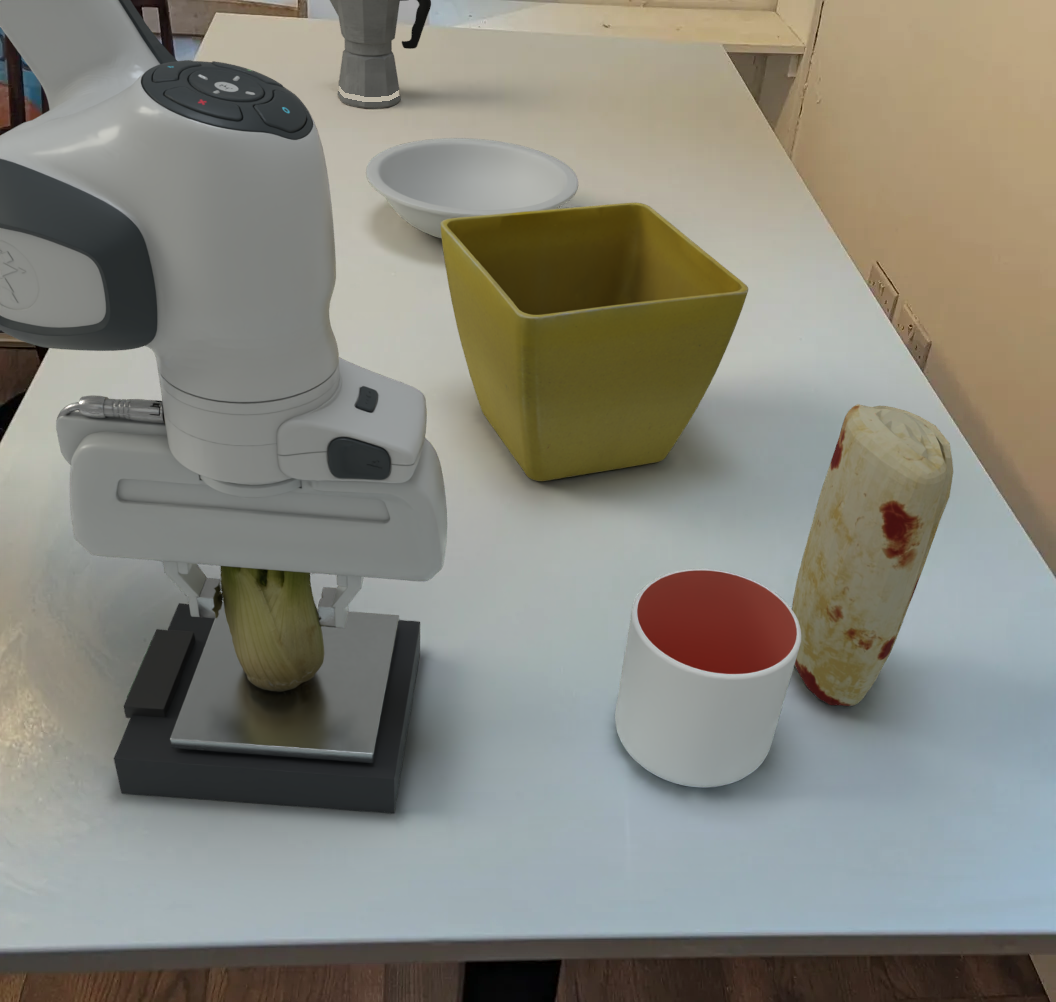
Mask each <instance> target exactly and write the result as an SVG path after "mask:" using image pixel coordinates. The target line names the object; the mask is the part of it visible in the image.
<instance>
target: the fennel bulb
mask: <svg viewBox="0 0 1056 1002" xmlns="http://www.w3.org/2000/svg"><path fill="white" fill-rule="evenodd" d="M220 579H221V593H222V597H223V602H224V609H225V614H226V620H227V622H228V625H229V629H230V633H231V635H232V642H233V645H234V649H235V653H236V655H237V658H238V660H239V662H240V664H241V666H242V668H243V671H244V672H245V673H246V675H247V678H248V680H249V681H250V682H251V683H252V684H254V685H255V686H257V687H258V688H261V689H264V690H269V691H278V692H282V691H286V690H290V689H293V688H296V687H297V686H298V685H300V684H301V683H303V682H306V681H308V680H310V679H311V678H312V677H314V675H315V674H316V672H317V671H318V670H319V669H320V667H321V666H322V664H323V660H324V642H323V635H322V629H321V626H320V625H319V615H318V611H317V609H318V607H317V604H316V602H315V599H314V595H313V589H312V583H311V573H306V572H293V571H281V570H268V569H255V568H242V567H229V566H220Z"/></svg>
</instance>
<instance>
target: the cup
mask: <svg viewBox="0 0 1056 1002" xmlns="http://www.w3.org/2000/svg"><path fill="white" fill-rule="evenodd" d="M630 612H631V613H630V619H629V626H628V629H627V630H628V631H627V637H626V644H625V648H624V649H625V650H624V655H623V662H622V666H621V667H622V668H621V674H620V678H619V679H620V681H619V686H618V692H617V698H616V705H615V710H614V711H615V712H614V722H615V727H616V728H615V729H616V733H617V735H618V738H619V740H620V742H621V745H622V746H623V748H624V749H625V751H626V752H627V753H628V754H629V756H630V757H631V758H632V759H633V760H634V761H635V762H636V763H637V764H638V765H639V766H640V767H642V768H643V769H645V770H646V771H648V772H649V773H651V774H652V775H654V776H656V777H658V778H660V779H662V780H664V781H667V782H670V783H673V784H676V785H680V786H686V787H692V788H716V787H722V786H728V785H731V784H734V783H737V782H739V781H741V780H743V779H745V778H747V777H748V776H750V775H751V774H752V773H754V772H755V771H756V770H757V769H758V768H759V767H760V766H761V765H762V764H763V762H764V761H765V759H766V758H767V756H768V754H769V753H770V750H771V748H772V744H773V741H774V737H775V733H776V731H777V728H778V727H777V726H778V723H779V720H780V716H781V713H782V709H783V706H784V702H785V700H786V695H787V692H788V689H789V684H790V681H791V678H792V675H793V671H794V667H795V661H796V658H797V654H798V651H799V647H800V644H801V629H800V625H799V621H798V619H797V617H796V615H795V613H794V612H793V610H792V607H791V606H790V605H789V604H788V603H787V602H786V600H785V599H783V598H782V597H781V596H780V595H779V594H778V593H776V592H775V591H774V590H772V589H771V588H770V587H767V586H766V585H764V584H762V583H760V582H758V581H757V580H754V579H752V578H750V577H747V576H745V575H741V574H738V573H735V572H731V571H726V570H722V569H721V570H720V569H712V568H689V569H688V568H687V569H680V570H674V571H671V572H667V573H665V574H662V575H660V576H658V577H656V578H654V579H652V580H651V581H649V582H648V583H647V584H646V585H644V586H643V587H642V588H641V589H640V591H639V592H638V593H637V595H636V596H635V598H634V601H633V603H632V606H631V611H630Z"/></svg>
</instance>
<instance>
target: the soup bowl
mask: <svg viewBox="0 0 1056 1002" xmlns="http://www.w3.org/2000/svg"><path fill="white" fill-rule="evenodd" d="M365 176H366V180H367V182H368V184H369V185H370V186H371V187H372V188H373V189H374V190H375V191H376V192H377V193H378V194H380V195H381V196H383V197H384V198H385V199H386V201H387V202H388V204H389V205H390V207H391V208H392V210H394V211H395V213H396V214H398V216H399V217H401V219H402V220H403V221H405V222H407V224H409V225H411V226H412V227H413V228H415V229H417V230H418V231H421V232H423V233H424V234H426V235H428V236H429V235H430V236H432V237H435V238H438V239H441V240H442V237H441V224H440V223H441V222H442V221H443V220H446V219H450V218H459V217H470V216H481V215H492V214H503V213H515V212H525V211H536V210H548V209H558V208H559V207H561V206H563V205H564V204H566V203H568V202H569V201H570V200H572V199H573V198H574V196H575V195H576V194H577V192H578V190H579V178H578V175H577V174H576V172H575V171H574V170H573V169H572V168H571V166H570V165H568V164H567V163H565V162H564V161H562V160H560V159H559V158H557V157H555V156H553V155H550V154H548V153H546V152H543V151H541V150H539V149H536V148H531V147H529V146H525V145H521V144H516V143H512V142H506V141H502V140H501V141H500V140H494V139H485V138H484V139H483V138H471V137H470V138H469V137H444V138H443V137H442V138H430V139H422V140H421V139H420V140H415V141H410V142H406V143H405V142H404V143H401V144H398V145H394V146H391V147H388V148H387V149H384V150H382V151H380V152H379V153H377V154H376V155H374V156H373V157H372V158H371V159H370V160H369V161H368V163H367V165H366V168H365Z"/></svg>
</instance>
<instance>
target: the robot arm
mask: <svg viewBox="0 0 1056 1002" xmlns="http://www.w3.org/2000/svg"><path fill="white" fill-rule="evenodd" d="M0 28H1V30H2V31H3V33H4V34H5V36H6V37H7V38H8V39H9V41H10V42H11V43H12V45H13V47H14V48H15V50H16V51H17V52H18V53H19V55H20V57H21V58H22V59H23V61H24V62H25V63H26V64H27V67H29V69H30V71H31V72H32V73H33V75H34V76H35V77H36V79H37V80H38V82H39V83H40V85H41V87H42V89H43V91H44V94H45V96H46V99H47V103H48V108H49V110H48V111H46V112H44V113H42V114H41V115H39V116H37V117H35V118H34V119H31V120H28V121H24V122H23V123H20V124H18V125H17V126H15V127H13V128H11V129H10V130H8V131H5V132H4V133H2V134H1V135H0V331H1V332H2V333H5V334H6V335H8V336H10V337H12V338H14V339H16V340H18V341H21V342H24V343H27V344H30V345H32V346H33V345H34V346H37V347H40V348H47V349H55V350H69V351H90V352H91V351H92V352H93V351H94V352H104V351H105V352H109V351H110V352H115V351H117V352H118V351H129V350H135V349H139V348H143V347H146V348H148V349H150V350H151V351H152V352H153V354H154V357H155V360H156V367H157V373H158V374H157V375H158V381H159V382H158V383H159V387H160V388H159V389H160V395H161V400H159V399H158V400H156V399H143V398H128V399H126V398H123V399H121V398H109V397H108V396H104V395H84V396H83V395H82V396H80V398H79V399H78V401H75V402H72V403H70V404H68V405H65V406H64V407H63V408H62V409H61V410H60V411H59V413H58V414H57V417H56V420H55V429H56V431H55V432H56V435H57V440H58V445H59V449H60V453H61V455H62V456H63V458H64V460H65V462H67V463H68V465H70V466H69V467H70V468H69V511H70V519H71V527H72V534H73V537H74V540H75V541H76V543H78V544H79V545H80V546H81V547H82V548H83V549H84V550H85V551H86V552H87V553H89V554H90V555H92V556H95V557H102V558H103V557H104V558H117V559H126V560H127V559H128V560H139V561H140V560H142V561H154V562H162V566H163V572H164V574H165V575H166V576H167V577H168V578H169V580H170V581H171V582H172V583H173V584H174V585H175V586H176V587H177V588H178V589H179V590H180V592H182V594H183V595H185V597H187V601H188V604H189V607H190V614H191V616H192V617H203V618H217V617H218V615H219V610H221V607H222V602H223V597H222V590H221V578H213V577H207V575H206V574H205V573H204V572H203V570H202V569H201V567H200V566H199V565H205V566H218V567H219V566H220V567H221V566H229V567H242V568H255V569H268V570H281V571H293V572H306V573H310V574H321V575H331V576H332V575H333V576H336V585H337V587H327V586H326V587H324V586H323V587H322V591H321V595H320V596H321V597H320V599H319V601H318V606H317V609H318V615H319V616H320V618H319V625H320V626H323V627H333V628H345V625H346V621H347V617H348V611H349V608H350V607H349V605H350V603H351V602H352V600H353V599H354V598H355V597H356V596H357V595H358V594H359V592H360V591H361V589H362V587H363V583H364V579H365V578H372V579H383V580H384V579H385V580H395V581H396V580H397V581H407V582H408V581H409V582H417V583H419V582H421V583H422V582H423V583H425V582H428V581H430V580H431V579H433V578H434V577H436V575H437V574H439V572H440V571H441V570H442V569H443V567H444V563H445V558H446V551H447V540H448V508H447V496H446V488H445V481H444V474H443V469H442V464H441V460H440V457H439V455H438V452H437V451H436V449H435V447H434V445H433V444H432V443H431V441H429V440H428V439H427V438H426V432H427V422H428V421H427V420H428V419H427V418H428V417H427V416H428V412H427V411H428V410H427V400H426V396H425V394H424V393H423V392H422V391H421V390H420V389H418V388H416V387H414V386H412V385H410V384H408V383H404V382H402V381H399V380H396V379H394V378H391V377H388V376H385V375H383V374H381V373H378V372H375V371H373V370H370V369H368V368H365V367H362V366H360V365H358V364H355V363H354V362H351V361H349V360H346V359H344V358H342V357H340V352H339V346H338V342H337V338H336V336H335V333H334V331H333V328H332V325H331V319H330V318H331V317H330V308H331V307H330V306H331V300H332V297H333V293H334V290H335V285H336V280H337V261H336V260H337V259H336V242H335V228H334V214H333V206H332V204H333V203H332V196H331V189H330V188H331V187H330V180H329V174H328V167H327V161H326V155H325V151H324V147H323V142H322V140H321V136H320V133H319V130H318V127H317V125H316V122H315V120H314V118H313V117H312V115H311V113H310V111H309V110H308V108H307V106H306V105H305V103H304V102H303V101H302V100H301V99H300V98H299V96H297V95H296V94H295V93H293V92H292V91H291V90H290V89H288V88H286V87H285V86H284V85H283V84H282V83H280V82H278V81H277V80H275V79H273V78H271V77H269V76H267V75H266V74H263V73H260V72H258V71H256V70H253V69H250V68H247V67H243V66H239V65H236V64H231V63H227V62H221V61H204V60H203V61H202V60H201V61H200V60H191V59H190V60H189V59H185V60H177V58H175V57H174V56H173V55H172V54H171V53H170V52H169V50H168V49H167V48H166V47H165V46H164V45H163V44H162V43H161V42H160V40H159V39H158V37H157V36H156V35H155V34H154V33H153V31H152V29H151V28H150V27H149V26H148V24H147V23H146V22H145V20H144V19H143V17H142V16H141V14H140V13H139V11H138V10H137V8H136V7H135V5H134V4H133V2H132V0H0Z"/></svg>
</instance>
